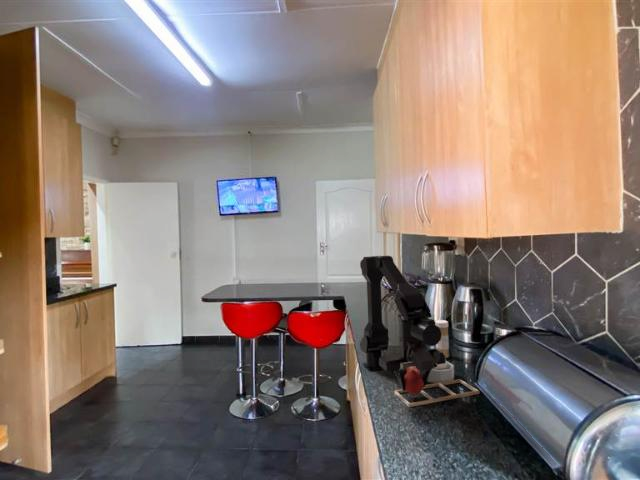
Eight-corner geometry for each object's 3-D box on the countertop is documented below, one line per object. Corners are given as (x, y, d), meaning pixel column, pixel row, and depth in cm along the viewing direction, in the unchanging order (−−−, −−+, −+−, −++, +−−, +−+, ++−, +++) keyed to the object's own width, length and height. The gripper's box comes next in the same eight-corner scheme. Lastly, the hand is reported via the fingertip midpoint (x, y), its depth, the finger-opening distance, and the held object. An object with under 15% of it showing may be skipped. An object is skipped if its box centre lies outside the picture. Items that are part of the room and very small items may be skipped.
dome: (421, 370, 122) (421, 352, 122) (440, 367, 124) (440, 349, 124) (434, 378, 115) (433, 359, 115) (453, 375, 117) (453, 356, 117)
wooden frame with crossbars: (394, 393, 109) (393, 390, 109) (460, 381, 116) (459, 379, 116) (409, 407, 101) (408, 404, 101) (479, 393, 107) (479, 390, 107)
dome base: (403, 376, 122) (402, 362, 121) (441, 369, 125) (441, 356, 125) (418, 387, 112) (417, 373, 112) (459, 380, 116) (459, 366, 116)
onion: (420, 390, 109) (419, 364, 109) (426, 399, 103) (425, 371, 103) (401, 391, 109) (400, 365, 109) (406, 400, 103) (405, 373, 103)
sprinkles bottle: (434, 354, 140) (433, 320, 140) (445, 353, 140) (444, 319, 140) (439, 359, 135) (438, 323, 135) (451, 358, 136) (450, 322, 135)
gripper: (395, 348, 95) (397, 407, 96) (456, 339, 100) (458, 395, 101) (377, 336, 106) (379, 389, 107) (433, 329, 111) (435, 379, 112)
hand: (413, 388), depth 106 cm, fingers closed on onion, 6 cm apart
